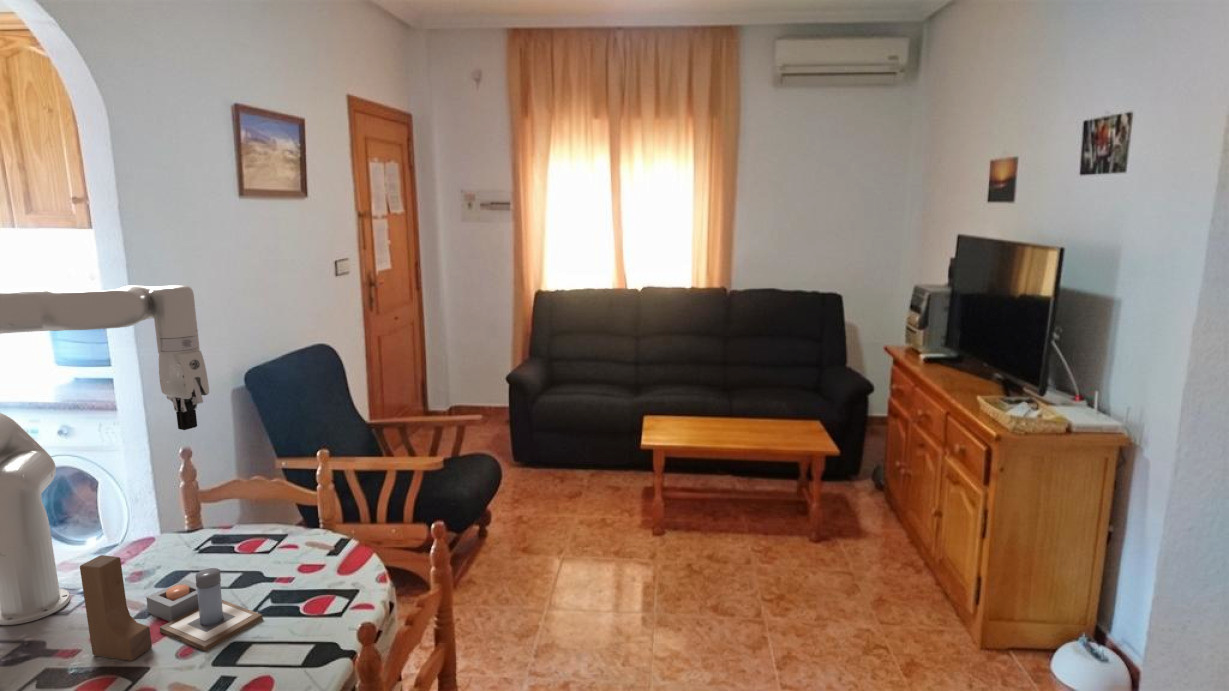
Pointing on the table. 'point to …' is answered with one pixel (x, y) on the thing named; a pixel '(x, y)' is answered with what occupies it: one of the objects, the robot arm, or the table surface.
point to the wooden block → (111, 611)
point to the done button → (177, 592)
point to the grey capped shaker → (209, 596)
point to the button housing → (173, 603)
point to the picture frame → (210, 626)
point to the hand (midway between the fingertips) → (187, 428)
